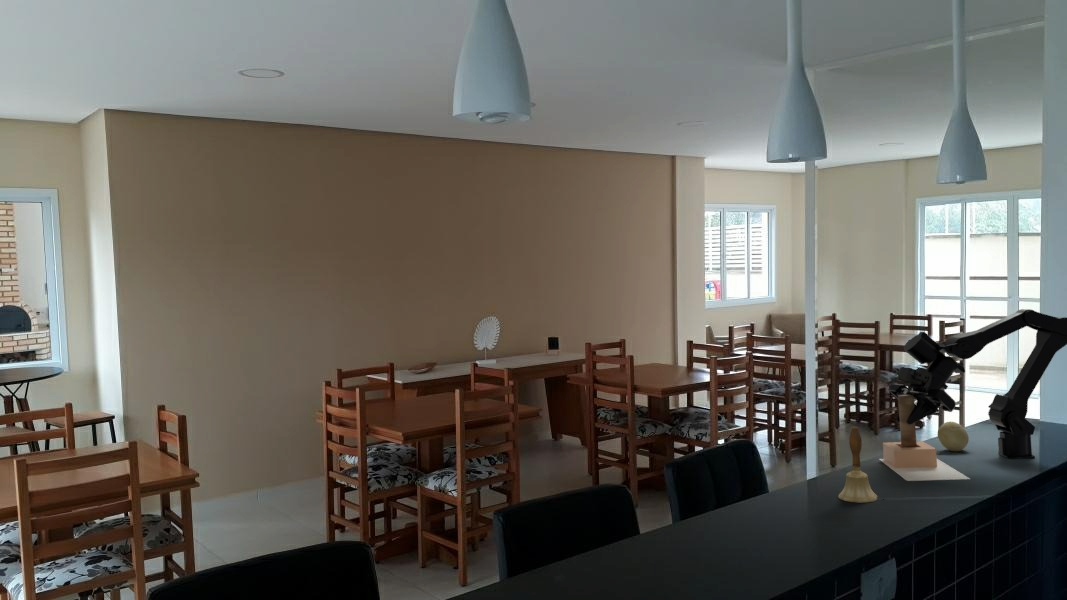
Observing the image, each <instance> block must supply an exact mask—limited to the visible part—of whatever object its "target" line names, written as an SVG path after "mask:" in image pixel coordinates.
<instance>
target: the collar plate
mask: <svg viewBox="0 0 1067 600" xmlns="http://www.w3.org/2000/svg"><path fill="white" fill-rule="evenodd" d="M916 443H917V446H916V447H902V446H901V441H897V442H896V441H893V442H889V441H888V442H882V450H883V451H882V453H883V458H878V460H879V461H881V462H882V463H883V464H884V465H886V466H887V467H888V468H890V469H891V470H892V471H893V472H895V473H896V474H898V475H899V476H900V477H902V478H903V480H905V481H906V482H917V481H918V482H919V481H921V482H922V481H947V480H949V481H952V480H971V478H970V477H968V476H966V475H965V474H964V473H961V472H960V471H958V470H956V469H955V468H954V467H952V466H950V465H949V464H947V463H945V462H943V461H942V460H940V459H939V458H938V457H937V449H936V448H935V447H934V446H932V445H930V444H928V443H927V442H925V441H923V440H922V441H921V440H920V441H917V440H916Z"/></svg>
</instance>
